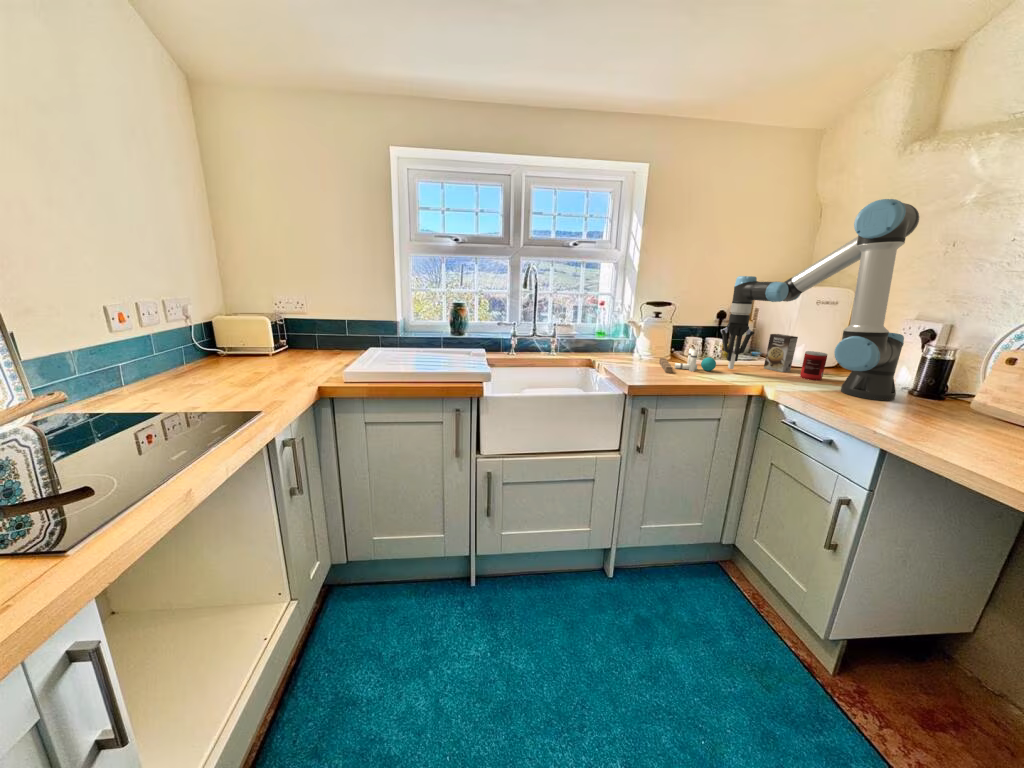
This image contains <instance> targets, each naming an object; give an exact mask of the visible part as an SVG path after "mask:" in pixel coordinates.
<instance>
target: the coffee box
mask: <svg viewBox="0 0 1024 768" xmlns="http://www.w3.org/2000/svg"><path fill="white" fill-rule="evenodd" d="M798 338H799V337H798V336H796V335H788V334H780V333H771V334H769V339H768V345H767V348H766V349H767V350H766V354H765V358H764V365H763V369H765V370H766V369H767V370H770V371H775V372H778V373H789V372H791V370H792V364H793V360H794V356H795V351H796V346H797V342H798V340H799V339H798Z"/></svg>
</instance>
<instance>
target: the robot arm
mask: <svg viewBox="0 0 1024 768" xmlns="http://www.w3.org/2000/svg"><path fill="white" fill-rule="evenodd" d="M919 222H920V213H919V211H918V209H917V208H916V207H915V206H913V205H912V204H910V203H905V202H903V201H901V200H898V199H894V198H890V199H889V198H882V199H881V198H880V199H877V200H875V201H872V202H870V203H868V204H867V205H865V206H864V207H863V208H862V209H860V211H859V212H858V214H857V215H856V216H855V219H854V223H853V226H854V227H853V228H854V231H855V233H856V234H857V236H856V237H854V238H853V239H851V240H850V241H848V242H846V243H845V244H843V245H841V246H840V247H838V248H837V249H835V250H833V251H832V252H830V253H829V254H827V255H826V256H824V257H822V258H821V259H819V260H818V261H815V262H814V263H813V264H810V265H809V266H808V267H806V268H804V269H803V270H801V271H800V272H798V273H796V274H795V275H792V277H790V278H788V279H786V280H785V281H784V282H783V281H782V282H781V281H760V280H759V281H758V280H757V277H756V276H752V275H751V276H748V275H739V276H737V277H736V279H735V283H734V287H733V295H732V301H731V307H730V314H729V318H728V324H727V325H726V327H725V328H723V329H722V328H721V329H720V333H721V336H722V346H723V351H724V352H725V353H727V356H726V361H728V365H727V369H729V370H734V368H735V363H736V362H737V361H738V357H739V355H740V354H744V353H745V351H746V348H747V346H748V344H749V341H750V339H751V337H752V336H753V335H754V334H755V332H754V331H752V330H751V329H750V326H749V324H750V317H751V315H750V314H751V312H752V306H753V301H759V302H760V301H763V302H770V303H771V302H772V303H778V302H779V303H780V302H785V303H787V302H793V301H795V300H797V299H798V298H799V297H800V296H801V295H802V294H803V293H804V292H806V291H808V290H809V289H812V288H813V287H816V285H818V284H820V283H822V282H824V281H825V280H827V279H829V278H831V277H832V276H834V275H836V274H838V273H840V272H841V271H843V270H845V269H846V268H848V267H850V266H852V265H853V264H855V263H857V262H859V267H858V271H857V272H858V273H857V278H856V283H855V284H856V285H855V292H854V298H853V304H852V311H851V317H850V323H849V325H848V326H846V327H845V328H844V329H843V331H842V337H841V340H840V341H839V342H838V343H837V345H836V346H835V348H834V359H835V360H836V362H837V364H839V366H841V368H843V369H845V370H849V371H851V372H850V373H849V374H848V375H847V378H846V379H845V380H844V381H843V383H842V385H841V388H840V392H842V393H844V394H846V395H849V396H852V397H856V398H861V399H868V400H873V401H886V402H888V401H894V400H895V398H896V396H897V395H896V394H897V392H896V383H895V378H894V377H895V373H896V370H897V366H898V363H899V359H900V355H901V352H902V348H903V346H904V341H905V337H904V335H903V334H902V333H901V334H900V333H897V332H890V331H889V329H887V327H885V321H886V313H887V309H888V304H889V297H890V291H891V285H892V280H893V274H894V268H895V263H896V262H895V261H896V258H897V257H896V255H897V253H898V249H899V248H900V247H902V246H903V245H905V243H906V237H909V235H911V234H912V233H913V232H914V231H915V230H916V228H917V227H918V226H919V225H918V224H919ZM727 333H729V337H730V338H729V341H728V334H727ZM745 334H746V335H745ZM744 335H745V336H744ZM743 336H744V339H743ZM742 339H743V341H742ZM728 342H729V343H728ZM734 345H735V346H734Z"/></svg>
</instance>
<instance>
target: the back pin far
mask: <svg viewBox="0 0 1024 768" xmlns="http://www.w3.org/2000/svg"><path fill="white" fill-rule="evenodd" d="M692 350H696V348H692V347H691V348H689V350H688V354H687V355H688V357H687V362H686V364H690V359H691V352H692Z"/></svg>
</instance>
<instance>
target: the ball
mask: <svg viewBox="0 0 1024 768" xmlns="http://www.w3.org/2000/svg"><path fill="white" fill-rule="evenodd" d="M716 366H717V362H716V360H715V359H714V358H713V357H704V358H703V359H702V360H701V363H700V367H701V368H702V369H703V370H704V371H706V372H711V371H713V370H714V369H715V368H716Z"/></svg>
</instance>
